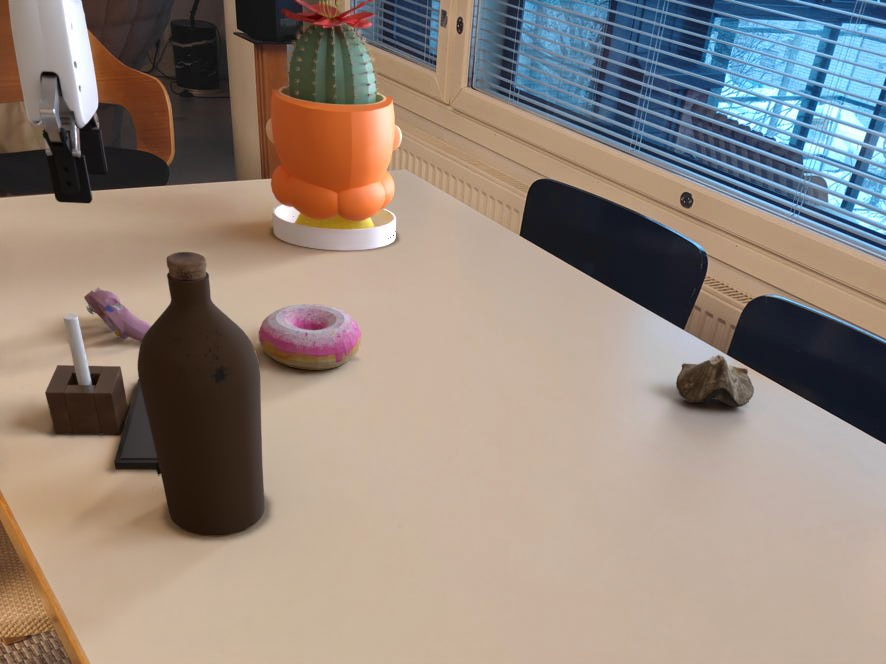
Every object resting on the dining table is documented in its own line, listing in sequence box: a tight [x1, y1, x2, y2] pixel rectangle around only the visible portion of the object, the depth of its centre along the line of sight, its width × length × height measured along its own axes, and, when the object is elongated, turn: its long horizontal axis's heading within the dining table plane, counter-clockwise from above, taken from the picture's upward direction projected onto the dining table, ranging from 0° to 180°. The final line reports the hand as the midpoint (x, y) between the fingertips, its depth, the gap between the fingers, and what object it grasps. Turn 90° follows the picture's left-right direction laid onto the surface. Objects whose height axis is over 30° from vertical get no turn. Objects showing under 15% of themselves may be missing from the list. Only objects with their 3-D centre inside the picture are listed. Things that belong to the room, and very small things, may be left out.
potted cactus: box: [265, 0, 403, 251], centre depth 145 cm, size 22×22×35 cm
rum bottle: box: [137, 251, 265, 537], centre depth 82 cm, size 11×11×25 cm
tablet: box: [113, 377, 158, 470], centre depth 103 cm, size 11×20×1 cm, turn 9°
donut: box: [258, 303, 362, 371], centre depth 119 cm, size 14×13×5 cm
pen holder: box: [44, 364, 129, 435], centre depth 100 cm, size 7×7×5 cm
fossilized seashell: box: [675, 354, 755, 408], centre depth 119 cm, size 8×7×10 cm
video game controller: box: [83, 286, 152, 343], centre depth 118 cm, size 10×5×7 cm, turn 42°
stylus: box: [63, 313, 92, 385], centre depth 98 cm, size 1×1×12 cm
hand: (83, 186), depth 87 cm, fingers open, 9 cm apart
